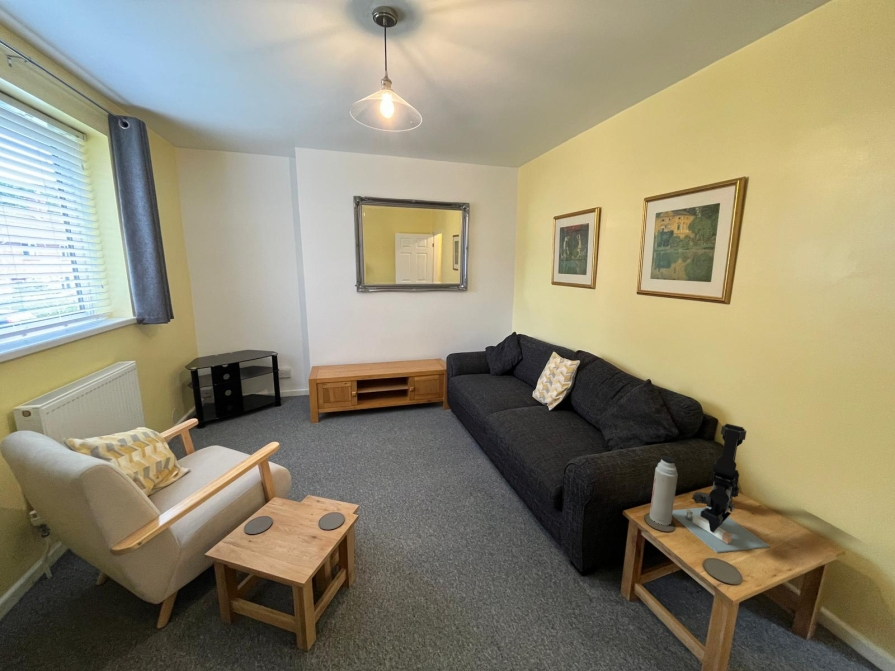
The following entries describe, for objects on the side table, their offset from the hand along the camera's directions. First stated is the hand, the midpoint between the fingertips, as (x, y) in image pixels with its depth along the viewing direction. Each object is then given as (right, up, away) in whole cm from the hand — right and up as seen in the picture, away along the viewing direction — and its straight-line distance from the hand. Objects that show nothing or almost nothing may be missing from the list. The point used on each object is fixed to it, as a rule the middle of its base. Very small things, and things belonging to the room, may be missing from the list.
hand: (714, 529), depth 141 cm
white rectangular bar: (-1, -1, 0) cm, 2 cm away
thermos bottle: (-17, -1, +9) cm, 19 cm away
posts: (+3, -1, +11) cm, 12 cm away
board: (+3, -2, +4) cm, 5 cm away
